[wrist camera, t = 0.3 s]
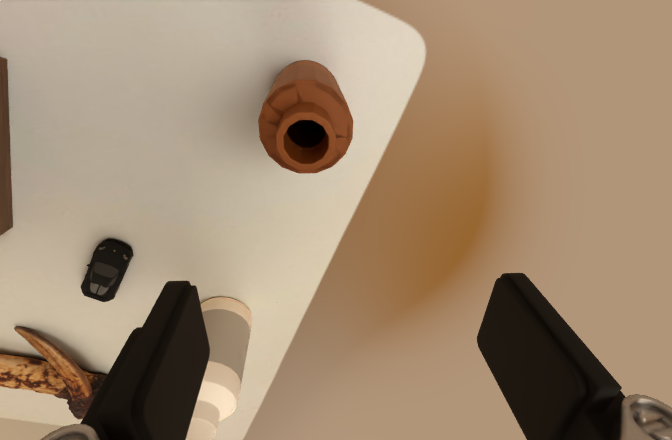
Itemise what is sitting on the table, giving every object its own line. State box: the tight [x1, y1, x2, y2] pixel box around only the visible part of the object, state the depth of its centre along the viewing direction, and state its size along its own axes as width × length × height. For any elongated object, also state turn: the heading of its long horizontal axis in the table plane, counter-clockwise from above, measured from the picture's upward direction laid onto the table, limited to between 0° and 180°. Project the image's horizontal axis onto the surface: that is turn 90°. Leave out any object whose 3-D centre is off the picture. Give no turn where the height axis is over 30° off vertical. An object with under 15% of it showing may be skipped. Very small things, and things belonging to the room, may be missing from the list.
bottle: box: [258, 60, 353, 173], centre depth 25 cm, size 6×6×14 cm
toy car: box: [81, 239, 133, 302], centre depth 37 cm, size 8×4×2 cm, turn 148°
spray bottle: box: [186, 297, 252, 440], centre depth 35 cm, size 7×7×18 cm
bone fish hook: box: [0, 327, 107, 419], centre depth 42 cm, size 9×5×18 cm
